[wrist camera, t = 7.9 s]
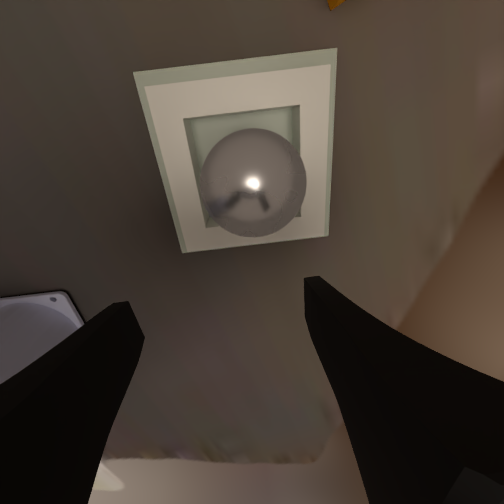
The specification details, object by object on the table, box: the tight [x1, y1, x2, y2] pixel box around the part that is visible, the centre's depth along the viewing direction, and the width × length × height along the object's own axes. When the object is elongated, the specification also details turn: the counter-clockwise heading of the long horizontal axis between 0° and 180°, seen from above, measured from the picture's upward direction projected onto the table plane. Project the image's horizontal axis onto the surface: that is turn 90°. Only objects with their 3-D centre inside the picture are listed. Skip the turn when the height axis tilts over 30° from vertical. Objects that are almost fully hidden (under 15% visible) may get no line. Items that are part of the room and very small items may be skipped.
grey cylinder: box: [200, 128, 307, 237], centre depth 12 cm, size 4×4×7 cm
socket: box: [133, 48, 337, 253], centre depth 15 cm, size 11×11×3 cm
